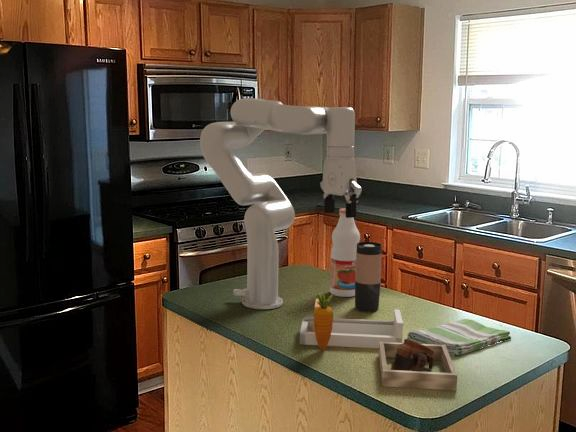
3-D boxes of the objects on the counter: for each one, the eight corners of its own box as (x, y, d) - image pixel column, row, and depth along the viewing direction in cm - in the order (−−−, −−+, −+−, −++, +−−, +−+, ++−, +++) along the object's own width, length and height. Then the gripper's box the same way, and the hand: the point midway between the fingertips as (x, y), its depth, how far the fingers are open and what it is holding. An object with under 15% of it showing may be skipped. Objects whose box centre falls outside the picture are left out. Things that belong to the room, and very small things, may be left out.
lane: (299, 344, 165) (300, 318, 164) (302, 329, 176) (303, 305, 175) (401, 349, 163) (403, 323, 162) (398, 334, 174) (399, 309, 172)
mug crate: (382, 386, 141) (383, 371, 141) (378, 355, 159) (379, 341, 158) (456, 390, 140) (457, 375, 139) (444, 358, 157) (445, 344, 157)
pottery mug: (382, 366, 153) (395, 334, 155) (416, 382, 155) (428, 350, 156) (401, 374, 142) (415, 339, 143) (438, 391, 143) (451, 356, 144)
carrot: (334, 348, 163) (336, 291, 160) (329, 355, 158) (331, 296, 155) (315, 345, 164) (317, 289, 162) (310, 352, 160) (311, 294, 157)
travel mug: (378, 305, 199) (381, 242, 195) (379, 313, 191) (382, 247, 188) (354, 304, 199) (356, 241, 196) (354, 311, 192) (356, 246, 189)
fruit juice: (346, 287, 217) (349, 206, 212) (364, 295, 209) (367, 210, 204) (324, 291, 212) (326, 208, 207) (341, 299, 204) (344, 212, 200)
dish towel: (405, 339, 172) (405, 326, 171) (461, 323, 185) (462, 311, 185) (456, 360, 158) (457, 346, 158) (512, 341, 171) (513, 328, 171)
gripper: (311, 152, 180) (310, 212, 183) (349, 155, 166) (348, 220, 168) (332, 151, 184) (332, 210, 187) (371, 154, 170) (370, 218, 172)
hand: (339, 215), depth 178 cm, fingers open, 9 cm apart
